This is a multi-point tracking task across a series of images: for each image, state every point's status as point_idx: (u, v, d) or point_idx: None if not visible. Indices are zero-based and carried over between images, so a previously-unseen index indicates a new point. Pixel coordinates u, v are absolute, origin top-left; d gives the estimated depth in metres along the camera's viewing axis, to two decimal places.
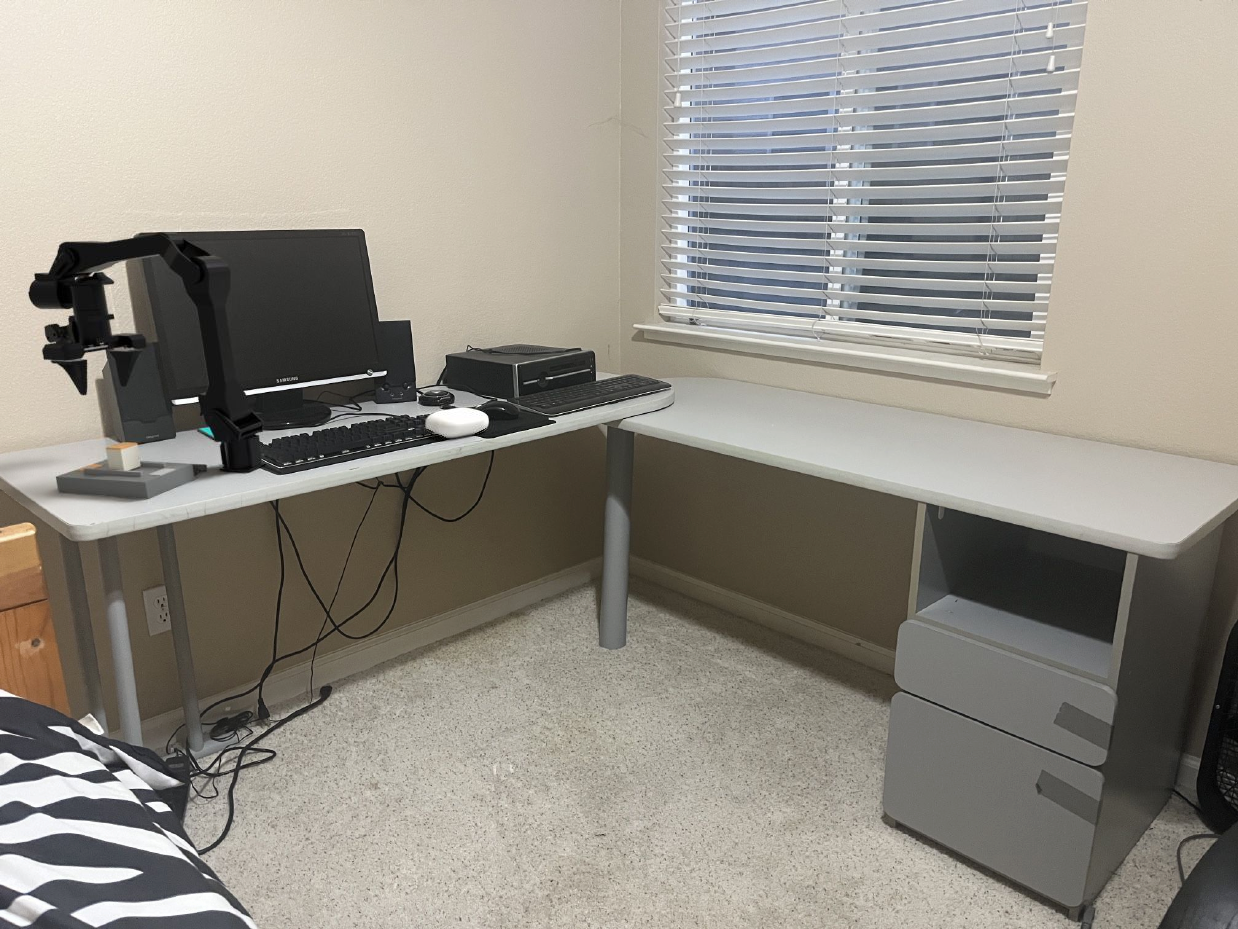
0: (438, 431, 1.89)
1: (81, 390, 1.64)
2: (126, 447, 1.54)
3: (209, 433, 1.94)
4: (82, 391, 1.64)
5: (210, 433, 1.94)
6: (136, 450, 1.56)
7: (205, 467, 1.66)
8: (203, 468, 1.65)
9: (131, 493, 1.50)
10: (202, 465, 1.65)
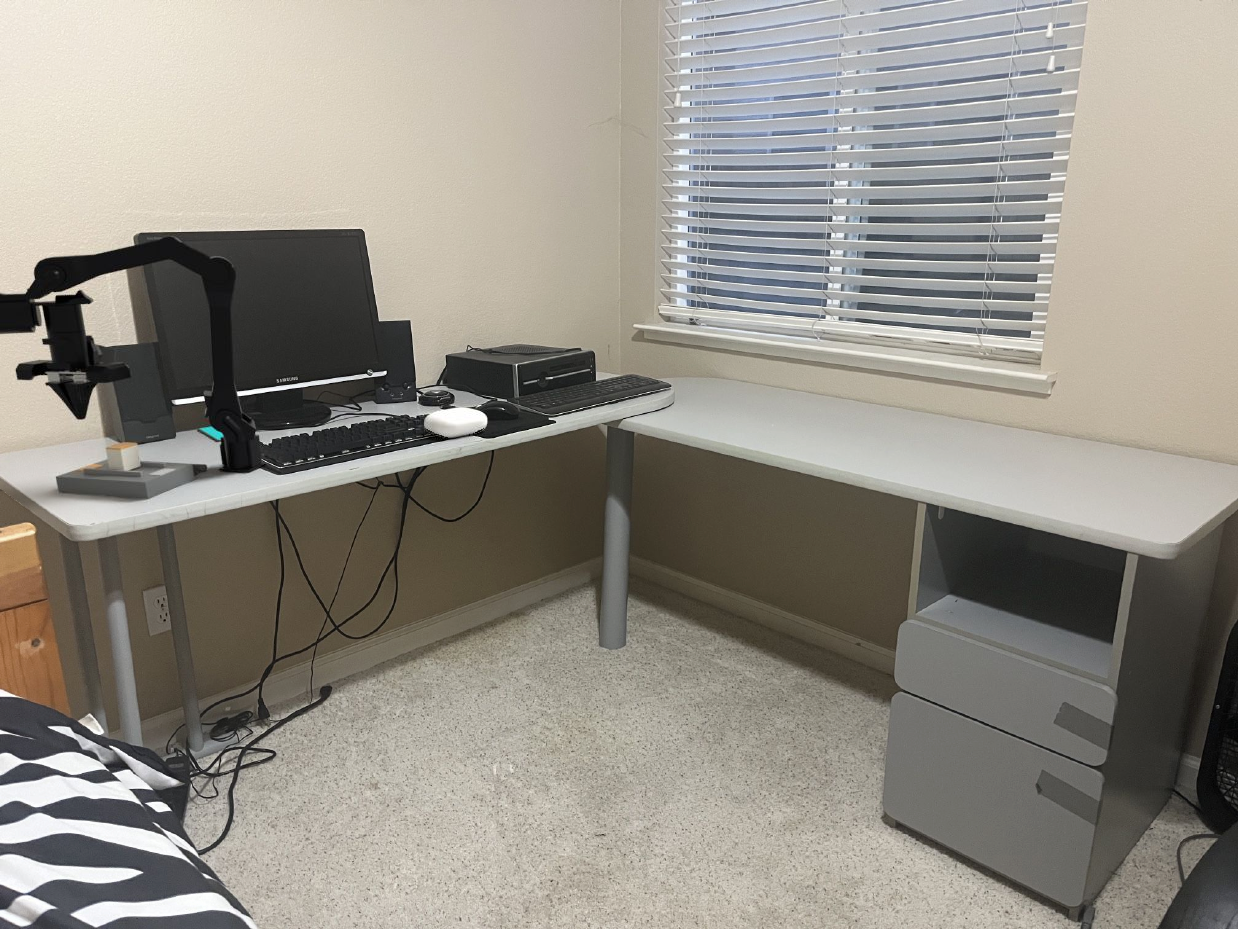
0: (437, 430, 1.89)
1: None
2: (126, 447, 1.54)
3: (209, 433, 1.94)
4: None
5: (210, 433, 1.94)
6: (136, 450, 1.56)
7: (205, 467, 1.66)
8: (203, 468, 1.65)
9: (131, 493, 1.50)
10: (202, 465, 1.65)
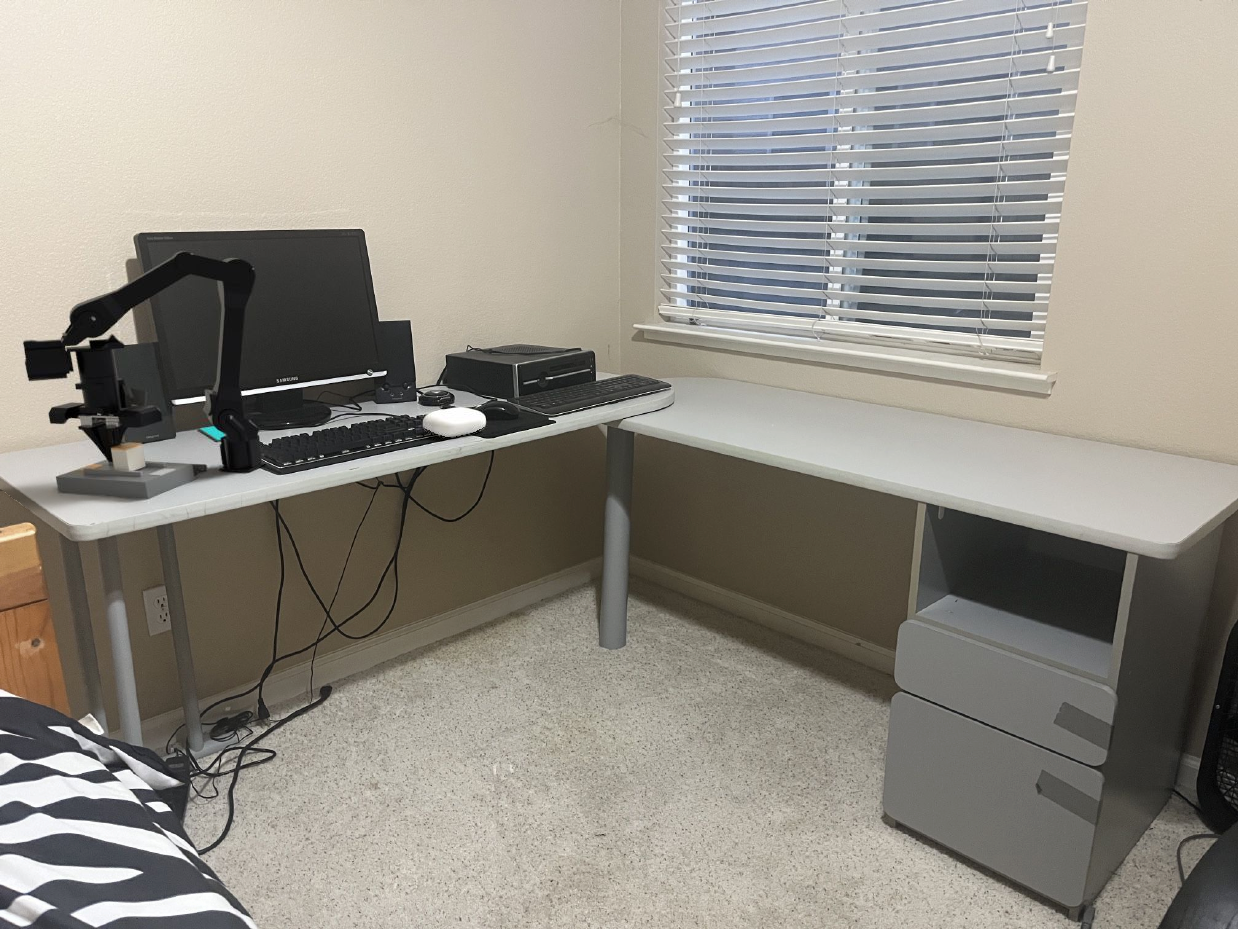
0: (435, 430, 1.89)
1: None
2: (131, 447, 1.54)
3: (209, 433, 1.94)
4: None
5: (210, 433, 1.94)
6: (141, 450, 1.56)
7: (205, 467, 1.66)
8: (203, 468, 1.65)
9: (131, 493, 1.50)
10: (202, 465, 1.65)
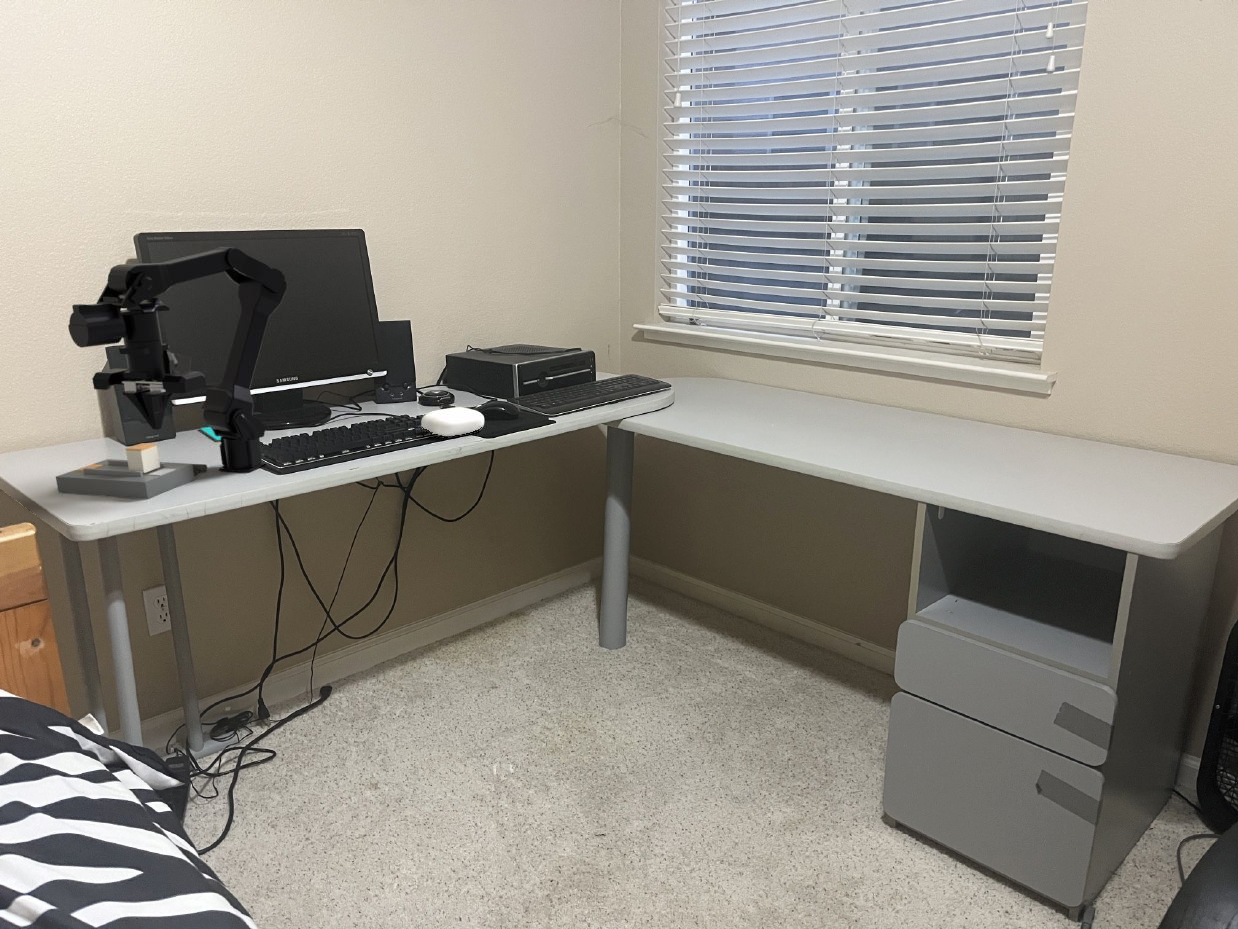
0: (433, 430, 1.89)
1: None
2: (146, 448, 1.53)
3: (209, 433, 1.94)
4: None
5: (210, 433, 1.94)
6: (156, 451, 1.55)
7: (205, 467, 1.66)
8: (203, 468, 1.65)
9: (131, 493, 1.50)
10: (202, 465, 1.65)
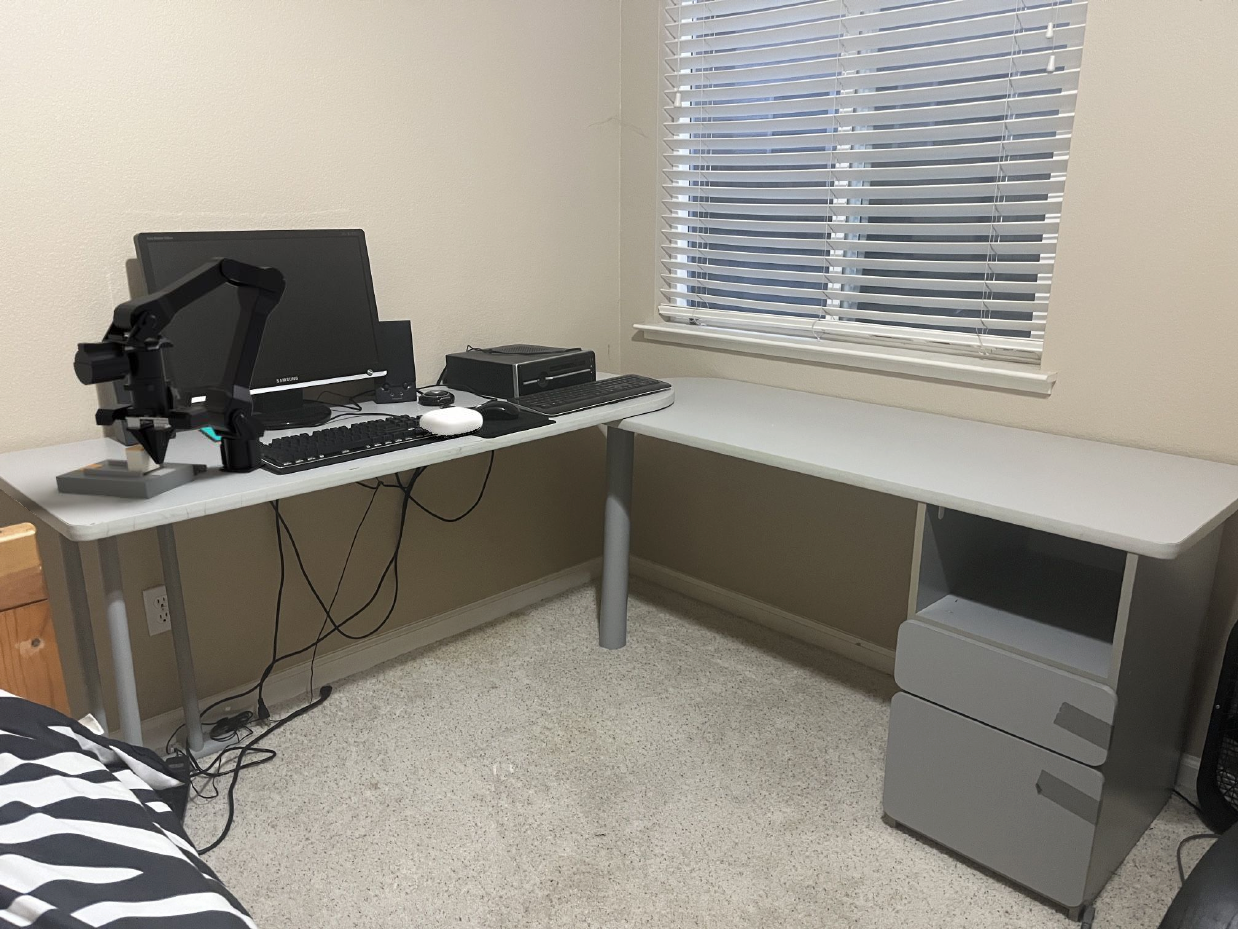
0: (432, 430, 1.90)
1: None
2: None
3: (209, 433, 1.94)
4: None
5: (210, 433, 1.94)
6: None
7: (205, 467, 1.66)
8: (203, 468, 1.65)
9: (131, 493, 1.50)
10: (202, 465, 1.65)
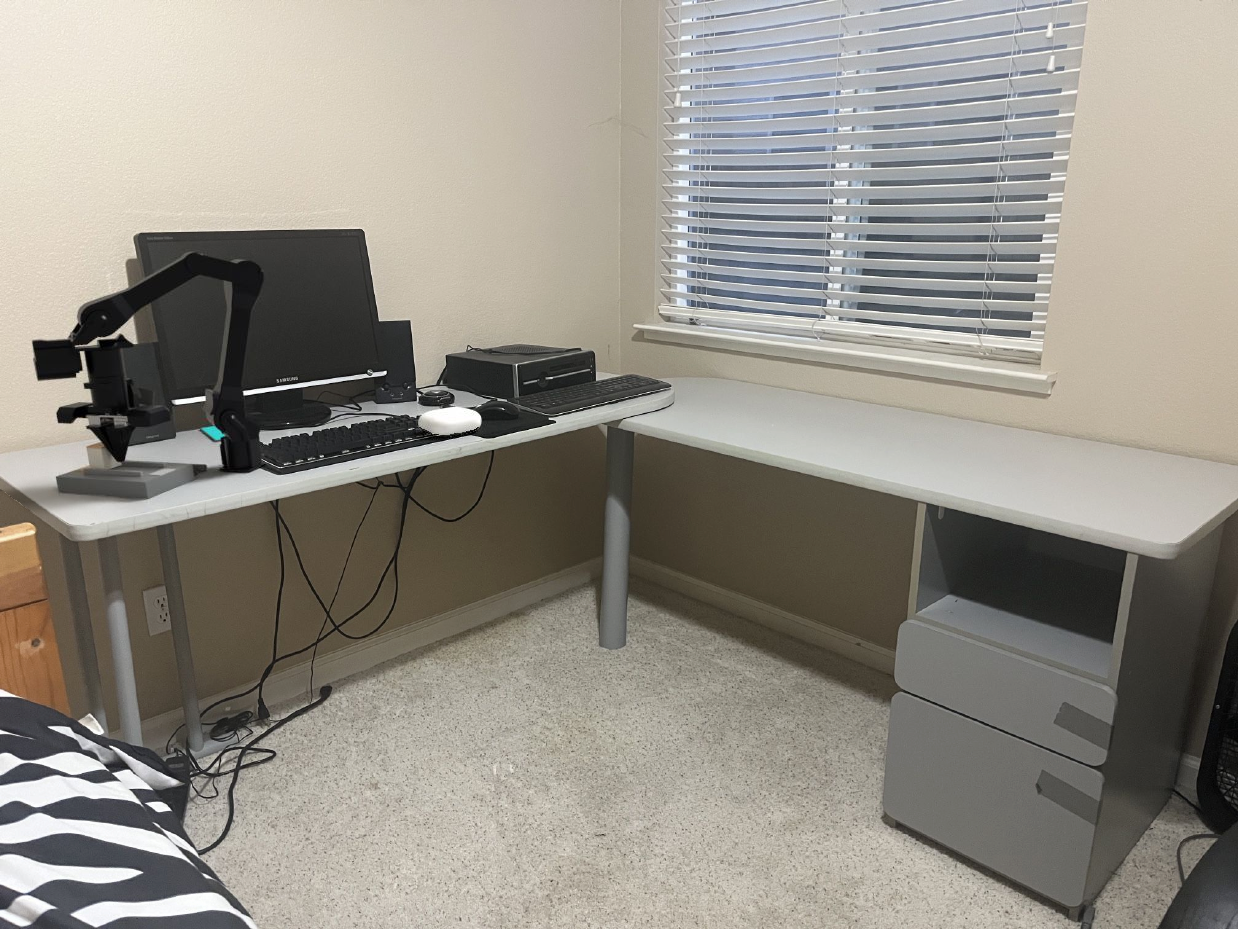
0: (430, 430, 1.90)
1: None
2: None
3: (209, 433, 1.94)
4: None
5: (210, 433, 1.94)
6: None
7: (205, 467, 1.66)
8: (203, 468, 1.65)
9: (131, 493, 1.50)
10: (202, 465, 1.65)
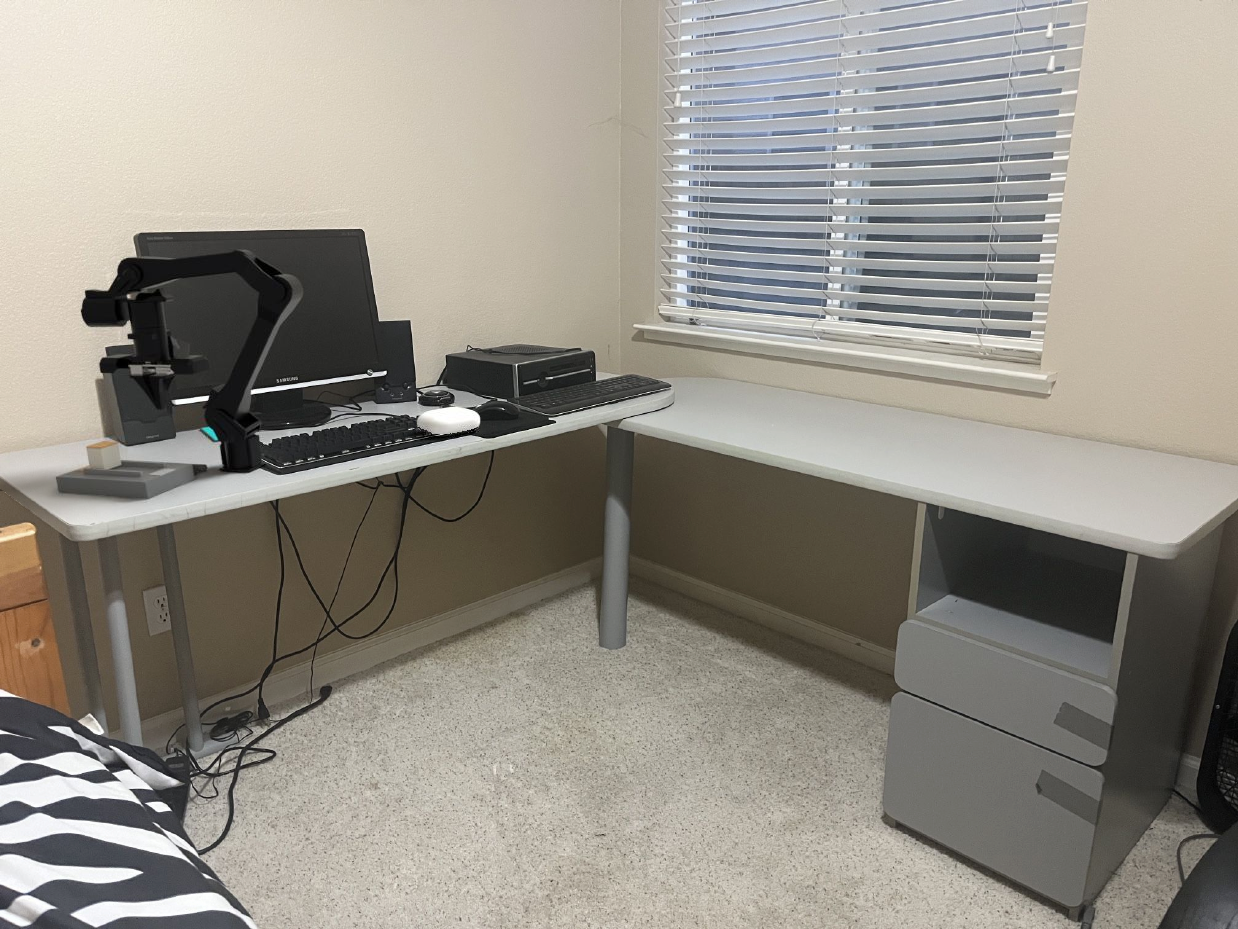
0: (429, 430, 1.90)
1: None
2: (106, 446, 1.55)
3: (209, 433, 1.94)
4: None
5: (210, 433, 1.94)
6: (117, 449, 1.57)
7: (205, 467, 1.66)
8: (203, 468, 1.65)
9: (131, 493, 1.50)
10: (202, 465, 1.65)
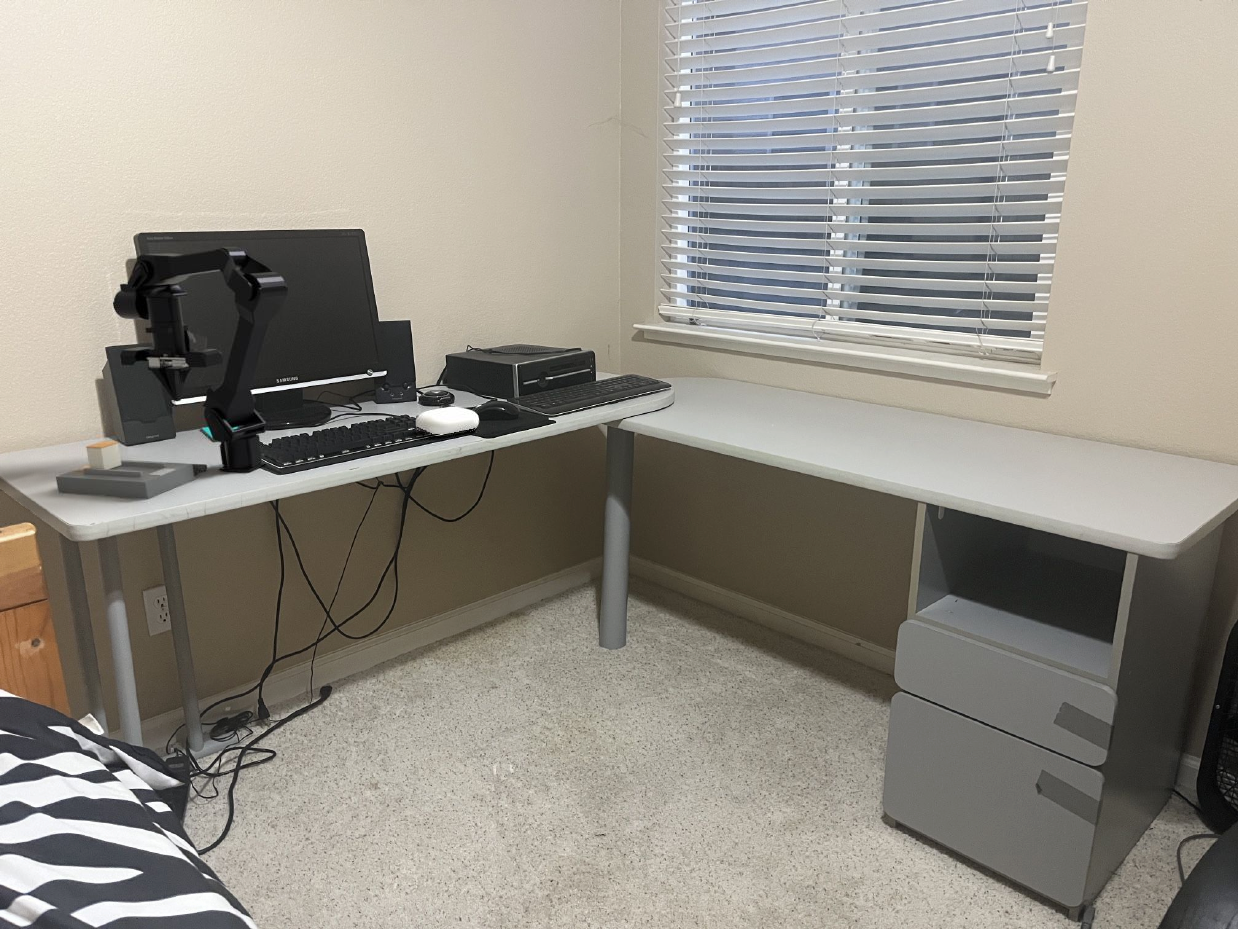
0: (428, 430, 1.90)
1: None
2: (106, 446, 1.55)
3: (209, 433, 1.95)
4: None
5: (210, 433, 1.94)
6: (117, 449, 1.57)
7: (205, 467, 1.66)
8: (203, 468, 1.65)
9: (131, 493, 1.50)
10: (202, 465, 1.65)
